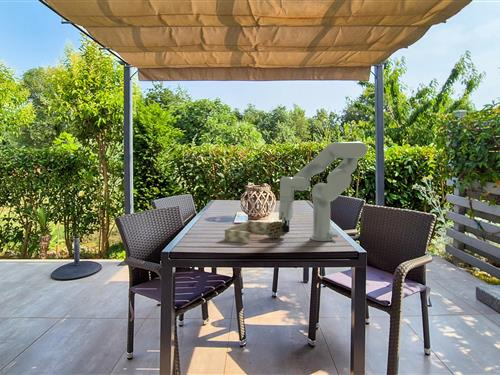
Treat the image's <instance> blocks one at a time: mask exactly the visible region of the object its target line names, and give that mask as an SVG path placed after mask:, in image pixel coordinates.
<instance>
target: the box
mask: <svg viewBox="0 0 500 375" xmlns="http://www.w3.org/2000/svg"><path fill="white" fill-rule="evenodd" d="M268 224H272V223H271V222H265V221H255V220H246V221H245V222H241V223H239V224H236V225H234V226H231V227H229V228H226V229H224V241H229V242H235V243H243V244H251V232H252V231H251V229H254V230H256V231H261V232H265V231H266V227H267V226H268ZM250 231H251V232H250Z"/></svg>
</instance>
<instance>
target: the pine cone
mask: <svg viewBox="0 0 500 375" xmlns="http://www.w3.org/2000/svg"><path fill="white" fill-rule="evenodd" d="M251 232H252V233H256V234H261V235H265V236H267V237H268V238H269V239H270V240H271V239H275V238H276V239H278V238H281V237H284V236H286V235H287V234H288V233H286V232H283V223H282V220H278V221H273V222H272V223H271V224H268V226H267V227H266V231H265V232H261V231H256V230H254V229H251Z"/></svg>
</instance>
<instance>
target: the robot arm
mask: <svg viewBox="0 0 500 375" xmlns="http://www.w3.org/2000/svg"><path fill="white" fill-rule="evenodd" d="M367 152H368V146H367V145H366V144H365V143H364V142H362V141H348V142H347V141H345V142H344V141H337V142H331V143H328V144H327V145H326V146H325V147H324V148H323V149H322V151H320V152H319V153H318V154H317V155H316V156H315V157H314V158H313V159H312V160H310V161H309V162H308V163H307V164H306V165H305V166H303V167H302V168H301V169H299V171H298V172H296V173H295V175H294V176H293V177H292V176H281V178H280V182H279V186H280V187H279V188H280V189H279V209H278V221H281V222H282V223H283V232H286V233H287V234H288V233H289V232H290V222H291V219H293V217H294V215H293V214H294V207H293V206H294V204H293V203H294V202H295V201H294V197H295V195H294V194H295V191H302V192H305V191H306V190H308V189H309V188H310V181H309V180H310V179H311V178H312V177H314V176H316V175H318V174H320V173H322V172H324V171H326V169H327V168H328V167H329V166H330V165H331V164H333V162H334V161H335V160H336V159H342V161H341V162H340V163H339V165H337V166H336V167H335V168H333V170H332V171H331V172H330V173H329V174H328V175H327V177H326V181H327V183H326V182H318V183H316V184H314V185H313V187H312V190H311V197H312V234H311V235H310V236H309V239H310V240H312V241H317V242H330V241H332V240H334V238H338V237H339V234H338V233H336V232H334V233H333V232H332V230H331V202H333V201H335V200H336V199H337V198H338V197H339V196H340V195H341V194H342V193H344V191H346V190H347V189H348V188H349V187H350V184H351V183H352V176H351V175H352V174H353V173H354V172H355V171H356V169H357V167H358V161H359V159H360V158H363V157H364V156H365V155H367Z"/></svg>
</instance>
